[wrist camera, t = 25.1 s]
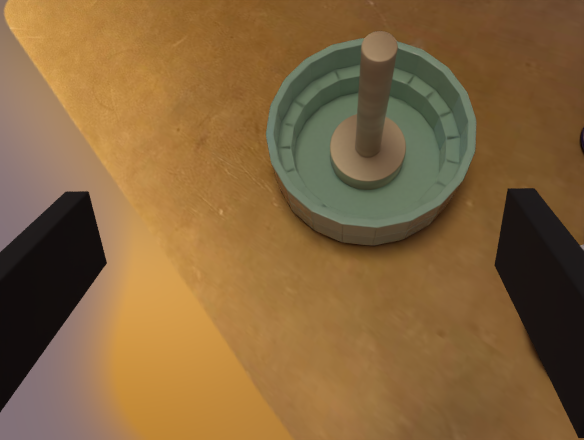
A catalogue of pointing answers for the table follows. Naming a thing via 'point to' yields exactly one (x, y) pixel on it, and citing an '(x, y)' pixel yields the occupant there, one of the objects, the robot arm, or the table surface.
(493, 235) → the table surface
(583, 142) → the energy drink
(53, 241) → the robot arm
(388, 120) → the stick
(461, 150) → the bowl
